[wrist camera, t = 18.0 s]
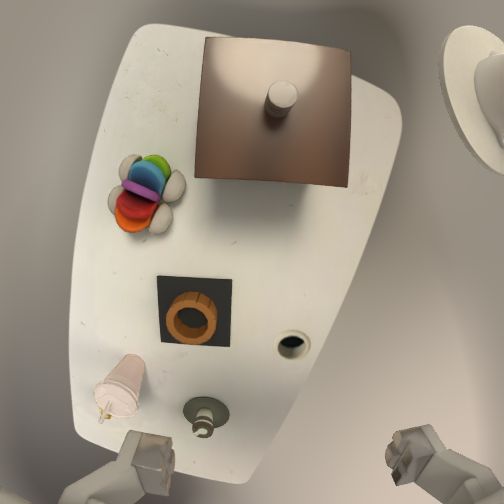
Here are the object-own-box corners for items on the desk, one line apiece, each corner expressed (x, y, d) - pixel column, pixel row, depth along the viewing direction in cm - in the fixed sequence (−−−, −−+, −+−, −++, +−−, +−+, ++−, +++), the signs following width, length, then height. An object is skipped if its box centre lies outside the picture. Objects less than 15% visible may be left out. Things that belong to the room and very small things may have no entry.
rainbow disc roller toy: (110, 214, 38) (85, 222, 31) (136, 145, 36) (115, 140, 29) (165, 239, 39) (149, 253, 32) (194, 170, 37) (184, 168, 30)
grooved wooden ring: (217, 292, 40) (215, 301, 37) (217, 335, 42) (215, 346, 39) (170, 290, 40) (164, 298, 37) (171, 332, 41) (167, 342, 39)
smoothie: (114, 343, 42) (77, 398, 29) (153, 351, 43) (126, 412, 29) (116, 375, 44) (85, 432, 30) (153, 383, 44) (130, 445, 31)
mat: (232, 279, 41) (231, 280, 40) (229, 344, 43) (229, 347, 42) (157, 275, 40) (156, 276, 39) (161, 340, 42) (160, 342, 42)
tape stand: (312, 93, 35) (365, 35, 17) (308, 183, 38) (364, 189, 20) (218, 86, 35) (200, 17, 17) (212, 177, 37) (186, 178, 19)
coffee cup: (254, 418, 47) (255, 438, 42) (200, 442, 48) (198, 461, 43) (209, 374, 44) (206, 394, 39) (155, 403, 45) (148, 422, 40)
